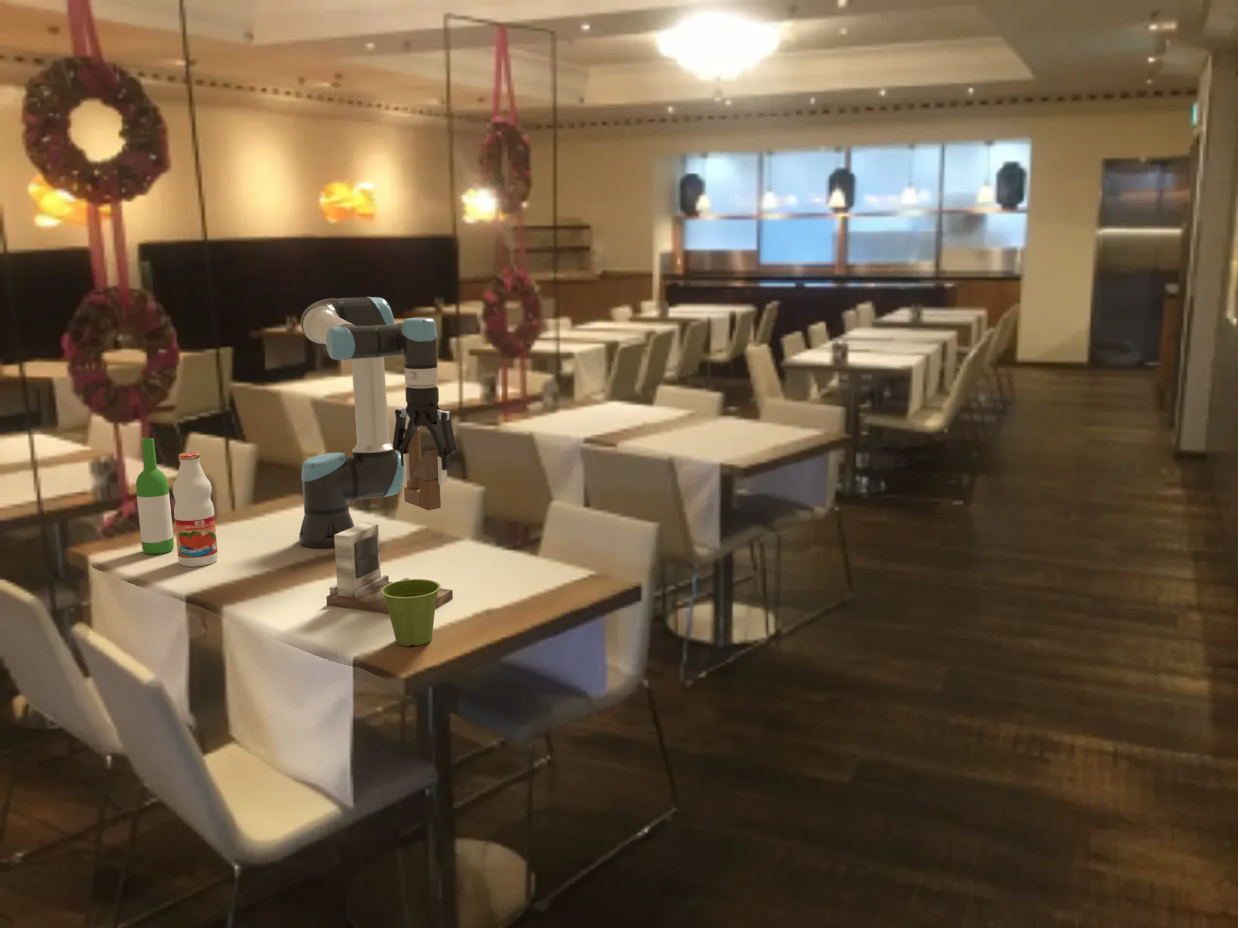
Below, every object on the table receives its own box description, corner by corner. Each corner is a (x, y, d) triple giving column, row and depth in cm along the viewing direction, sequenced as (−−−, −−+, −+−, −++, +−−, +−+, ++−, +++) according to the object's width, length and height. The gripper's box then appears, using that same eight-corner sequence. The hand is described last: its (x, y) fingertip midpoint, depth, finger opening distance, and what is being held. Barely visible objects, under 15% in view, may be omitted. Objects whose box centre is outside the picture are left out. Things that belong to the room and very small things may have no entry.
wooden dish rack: (363, 586, 255) (359, 520, 252) (452, 598, 246) (450, 530, 243) (326, 604, 242) (322, 535, 239) (419, 618, 234) (416, 546, 230)
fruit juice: (214, 554, 282) (205, 448, 276) (221, 563, 274) (212, 455, 268) (176, 560, 277) (166, 452, 272) (181, 569, 269) (171, 458, 264)
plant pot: (400, 628, 228) (398, 576, 225) (452, 633, 224) (450, 581, 222) (372, 648, 217) (369, 594, 214) (426, 654, 213) (424, 599, 211)
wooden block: (428, 511, 252) (424, 434, 248) (404, 502, 260) (400, 428, 256) (441, 508, 254) (438, 432, 250) (417, 499, 262) (414, 426, 258)
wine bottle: (180, 550, 286) (169, 438, 280) (151, 557, 280) (140, 442, 274) (165, 545, 291) (154, 435, 285) (136, 551, 285) (125, 439, 279)
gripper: (373, 385, 251) (378, 481, 256) (453, 390, 243) (457, 488, 248) (391, 381, 258) (396, 474, 262) (470, 385, 250) (473, 481, 255)
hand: (425, 481), depth 255 cm, fingers open, 8 cm apart
